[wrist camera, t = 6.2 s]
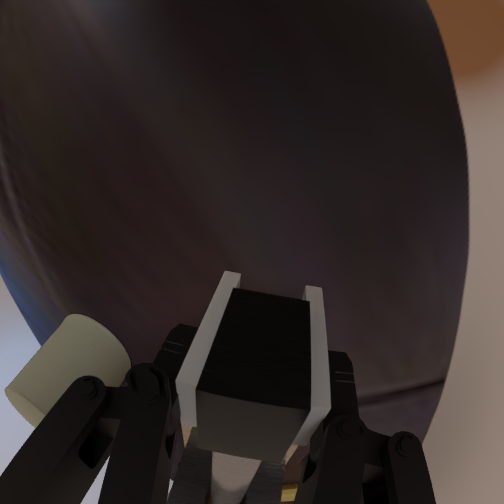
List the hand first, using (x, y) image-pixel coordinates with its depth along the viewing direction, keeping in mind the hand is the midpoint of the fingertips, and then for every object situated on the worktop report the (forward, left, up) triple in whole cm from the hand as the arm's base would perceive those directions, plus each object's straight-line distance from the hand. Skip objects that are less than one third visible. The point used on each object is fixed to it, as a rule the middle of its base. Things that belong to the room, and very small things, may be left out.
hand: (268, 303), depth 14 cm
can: (+15, -17, -6) cm, 23 cm away
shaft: (+12, 0, +2) cm, 12 cm away
